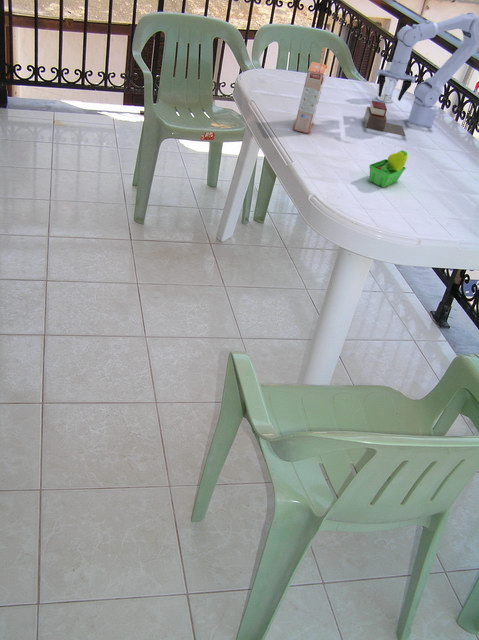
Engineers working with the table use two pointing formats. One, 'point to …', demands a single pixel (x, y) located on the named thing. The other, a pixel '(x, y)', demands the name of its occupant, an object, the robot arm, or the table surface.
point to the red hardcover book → (378, 108)
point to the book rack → (381, 124)
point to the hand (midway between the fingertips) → (389, 97)
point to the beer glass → (388, 86)
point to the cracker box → (310, 97)
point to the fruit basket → (388, 169)
